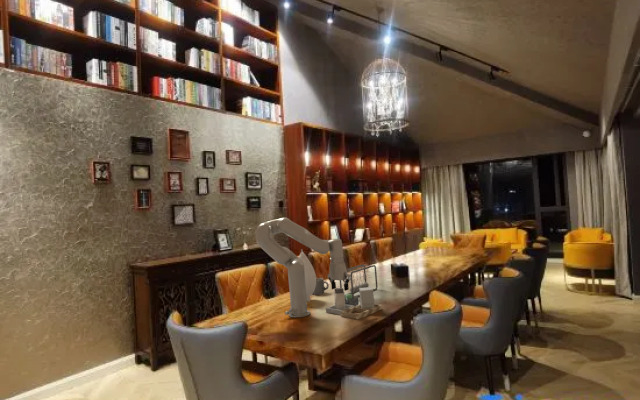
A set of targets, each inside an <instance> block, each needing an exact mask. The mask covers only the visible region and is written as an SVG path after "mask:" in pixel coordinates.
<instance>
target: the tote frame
mask: <svg viewBox="0 0 640 400" xmlns="http://www.w3.org/2000/svg"><path fill="white" fill-rule="evenodd" d="M352 307H355V306H353V305H346V304H345V308H346V309H343V310H337V309H335V304H333V305H331V306H328V307H326V308H325V313H327V314H333V315H338V316H341V312H342V311H344V310H347V309H350V308H352Z"/></svg>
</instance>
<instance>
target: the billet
mask: <svg viewBox="0 0 640 400" xmlns="http://www.w3.org/2000/svg"><path fill="white" fill-rule="evenodd" d="M333 296H334V305H335V309H337V310H343V309H346V308H345V290H344V287H342V288H340V287H338V288H337V287H336V288H335V289H334V292H333Z"/></svg>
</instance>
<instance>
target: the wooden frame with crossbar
mask: <svg viewBox="0 0 640 400" xmlns="http://www.w3.org/2000/svg"><path fill="white" fill-rule="evenodd" d="M374 306H375V307H374V308H371V309H365V308H361V306H360V304H359V305H357V306H355V307H352V308H350V309H347V310H344V311H342V312H341V315H340V317H341V318H349V319H353V320H361V319H362V318H365V317H367V316H370V315H372V314H374V313H376V312H379V311H381V310H383V305H382V304H378V303H374Z"/></svg>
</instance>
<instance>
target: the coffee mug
mask: <svg viewBox="0 0 640 400" xmlns="http://www.w3.org/2000/svg"><path fill="white" fill-rule="evenodd" d="M325 284H326V286H325ZM329 287H330V286H329V282H328V281H327V280H326V281H325V280H324V278H323V277H316V287H315V290H314V292H313V293H312V295H313V296H319V295H323V294H325V291H326V290H328V289H329ZM312 295H311V296H312Z"/></svg>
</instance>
